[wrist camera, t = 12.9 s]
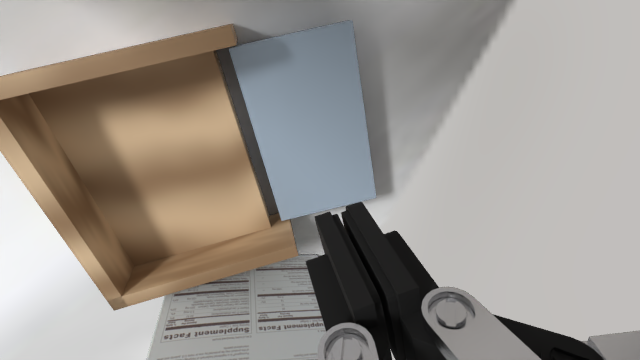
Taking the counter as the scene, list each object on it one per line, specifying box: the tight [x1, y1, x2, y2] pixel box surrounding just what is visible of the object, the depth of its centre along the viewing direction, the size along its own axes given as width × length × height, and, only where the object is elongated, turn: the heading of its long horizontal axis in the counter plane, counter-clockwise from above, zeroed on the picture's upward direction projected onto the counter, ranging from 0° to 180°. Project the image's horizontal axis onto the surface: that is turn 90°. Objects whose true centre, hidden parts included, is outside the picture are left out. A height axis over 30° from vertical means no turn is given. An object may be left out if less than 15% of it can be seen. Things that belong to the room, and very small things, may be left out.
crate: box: [0, 24, 298, 310], centre depth 23 cm, size 16×14×5 cm
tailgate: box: [229, 20, 376, 221], centre depth 25 cm, size 13×2×8 cm
